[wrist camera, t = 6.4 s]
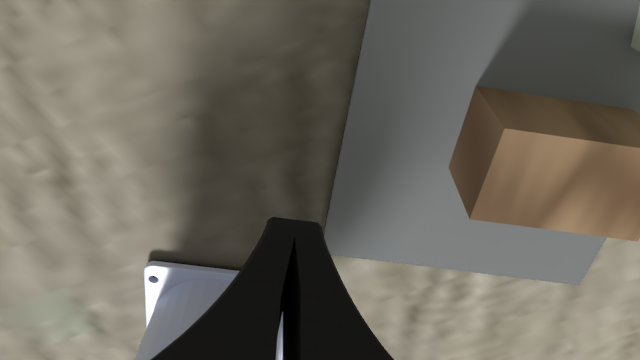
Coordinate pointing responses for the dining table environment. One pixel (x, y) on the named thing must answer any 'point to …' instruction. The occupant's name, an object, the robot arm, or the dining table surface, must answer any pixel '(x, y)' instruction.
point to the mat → (447, 119)
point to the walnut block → (549, 164)
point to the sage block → (636, 34)
